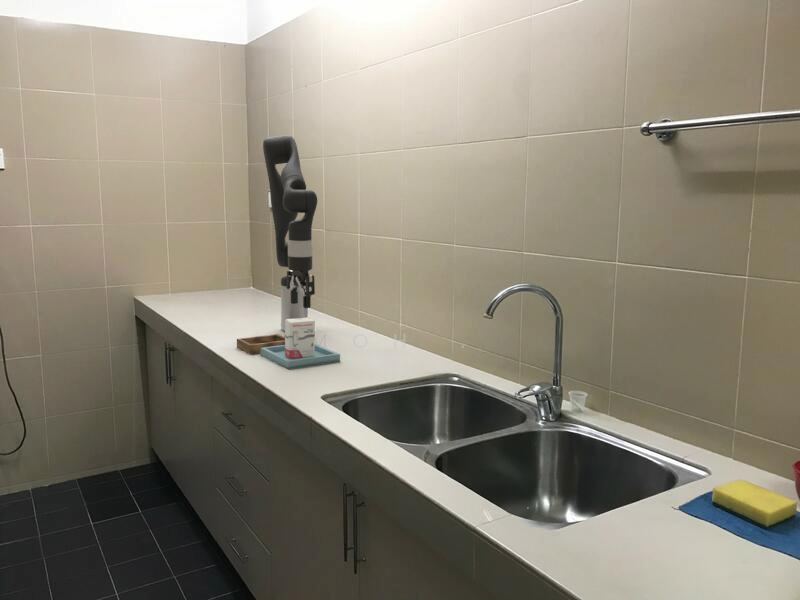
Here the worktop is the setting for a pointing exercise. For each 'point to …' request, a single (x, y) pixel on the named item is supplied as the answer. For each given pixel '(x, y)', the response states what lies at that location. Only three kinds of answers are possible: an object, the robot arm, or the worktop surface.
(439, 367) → the worktop surface
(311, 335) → the ink box
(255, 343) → the holder
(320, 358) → the tray
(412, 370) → the worktop surface
